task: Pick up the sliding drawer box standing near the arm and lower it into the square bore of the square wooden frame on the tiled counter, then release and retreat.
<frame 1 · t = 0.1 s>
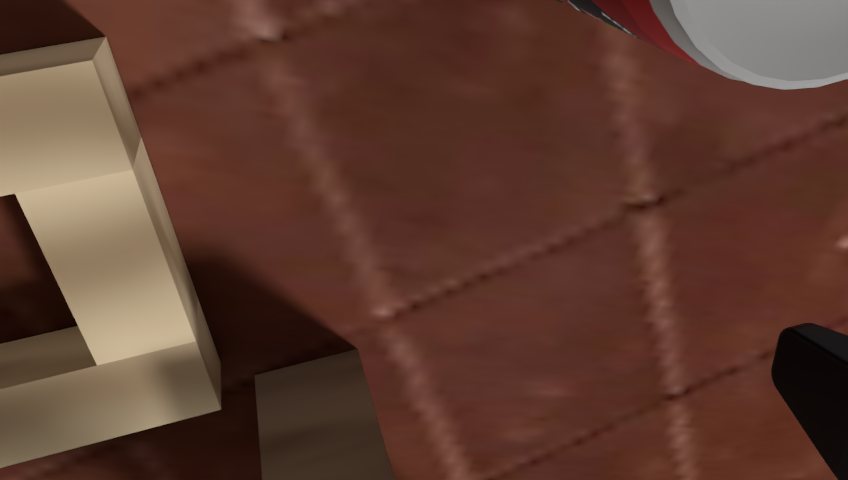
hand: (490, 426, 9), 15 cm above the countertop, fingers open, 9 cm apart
sliding drawer box: (316, 399, 27), on the countertop
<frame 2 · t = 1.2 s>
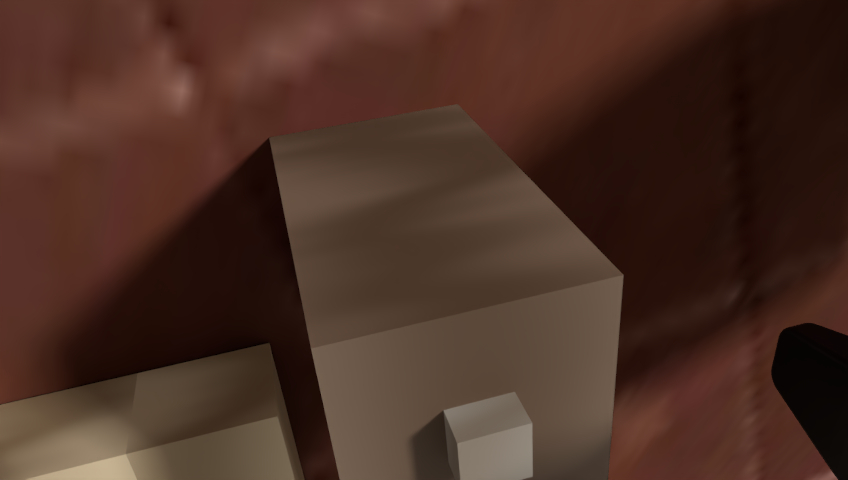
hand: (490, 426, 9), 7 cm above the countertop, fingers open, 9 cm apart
sliding drawer box: (377, 205, 15), on the countertop
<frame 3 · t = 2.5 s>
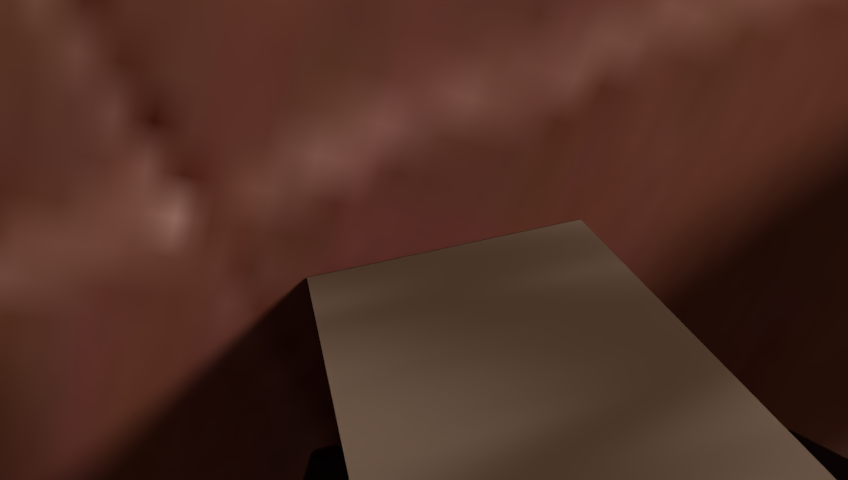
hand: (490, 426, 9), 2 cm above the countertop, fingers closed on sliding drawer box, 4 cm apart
sliding drawer box: (457, 357, 11), on the countertop, touching gripper
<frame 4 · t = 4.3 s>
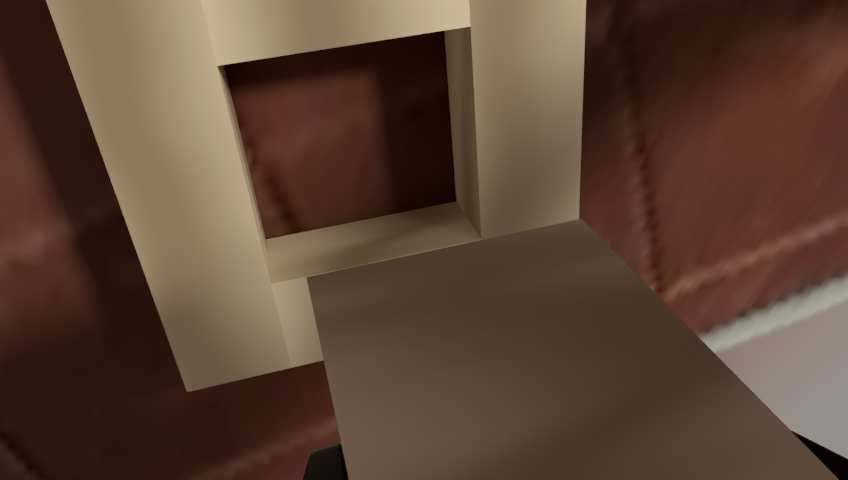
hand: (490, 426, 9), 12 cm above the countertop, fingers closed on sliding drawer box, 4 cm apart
sliding drawer box: (457, 356, 11), point 11 cm above the countertop, touching gripper
square wooden frame: (349, 128, 20), on the countertop
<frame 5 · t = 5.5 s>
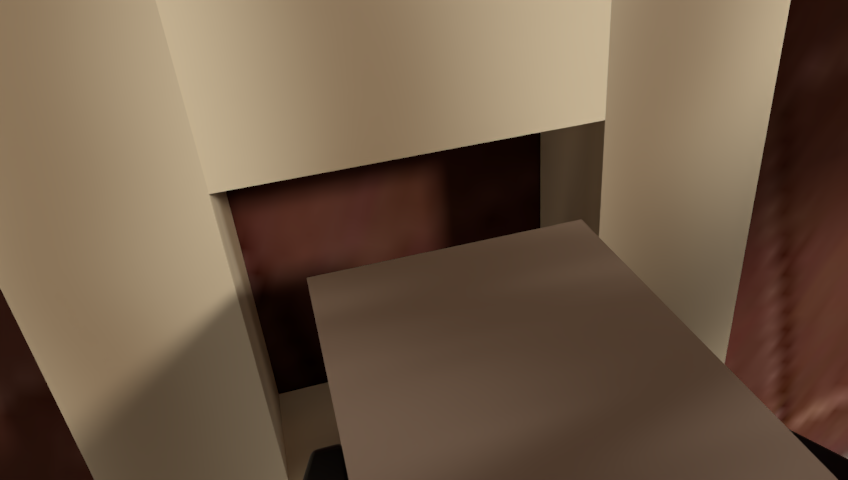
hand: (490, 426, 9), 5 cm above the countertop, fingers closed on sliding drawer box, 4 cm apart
sliding drawer box: (457, 357, 11), point 4 cm above the countertop, touching gripper
square wooden frame: (400, 246, 14), on the countertop
when the fingers open (3 cm above the countertop, at t = 6.2 s): sliding drawer box drops 2 cm, resting in square wooden frame.
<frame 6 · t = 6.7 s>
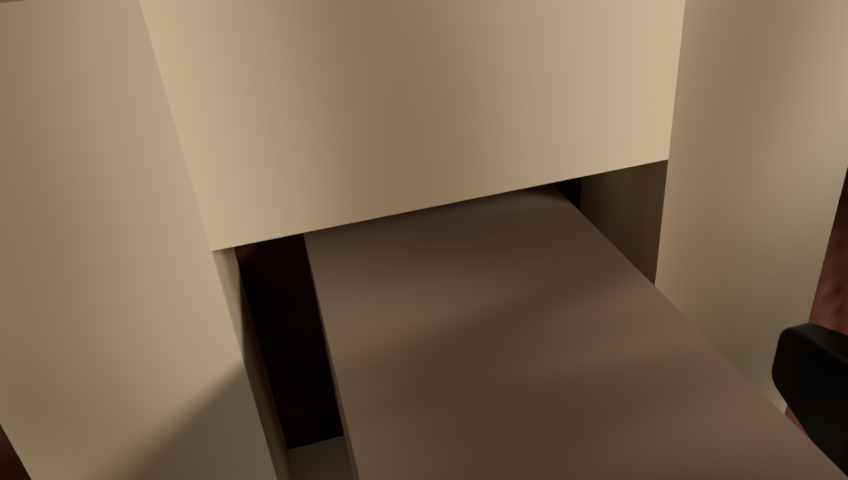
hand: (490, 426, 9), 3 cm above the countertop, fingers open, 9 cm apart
sliding drawer box: (428, 285, 12), resting in square wooden frame
square wooden frame: (423, 290, 12), on the countertop
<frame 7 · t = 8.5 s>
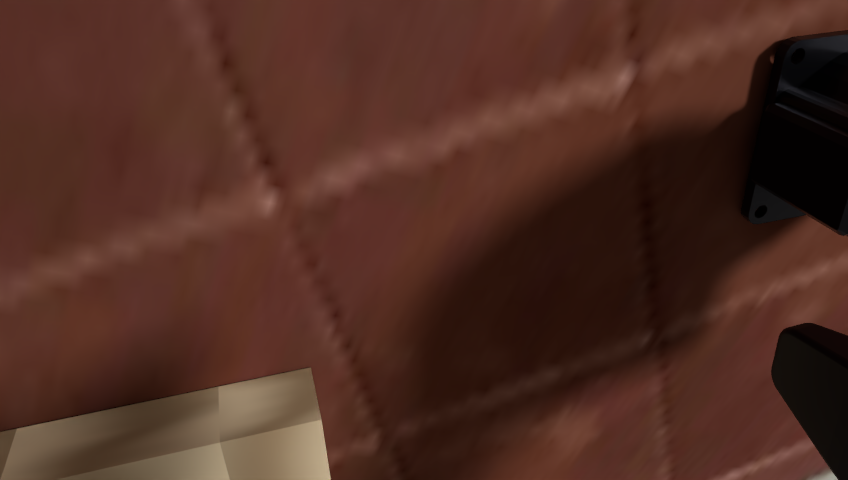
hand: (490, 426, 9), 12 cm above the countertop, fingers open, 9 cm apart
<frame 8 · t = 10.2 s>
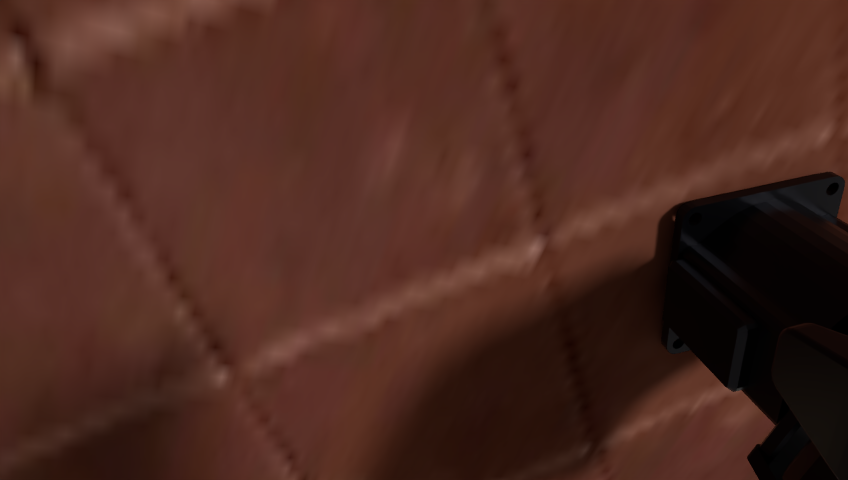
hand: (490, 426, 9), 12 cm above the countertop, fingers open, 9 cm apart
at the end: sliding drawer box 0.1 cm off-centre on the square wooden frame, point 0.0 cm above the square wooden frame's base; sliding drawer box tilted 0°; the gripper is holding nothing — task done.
